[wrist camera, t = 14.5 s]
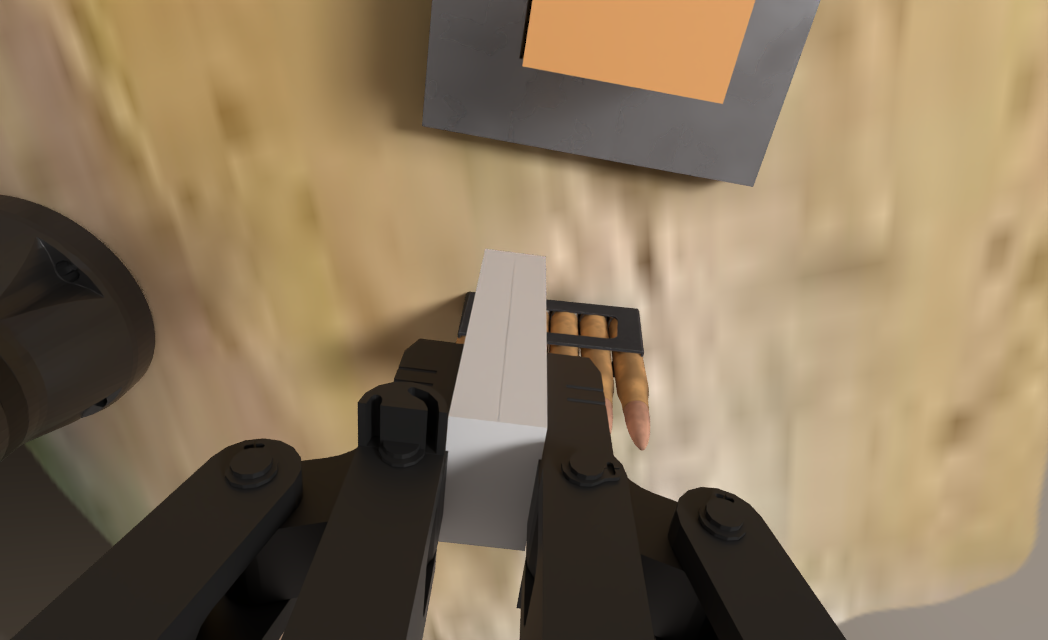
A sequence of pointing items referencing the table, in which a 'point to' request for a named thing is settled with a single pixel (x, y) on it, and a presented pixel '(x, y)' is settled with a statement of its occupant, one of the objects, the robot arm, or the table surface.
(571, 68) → the cardboard-colored brick
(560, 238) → the table surface
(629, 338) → the ammunition clip
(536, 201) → the table surface
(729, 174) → the socket plate
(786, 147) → the table surface
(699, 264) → the table surface
